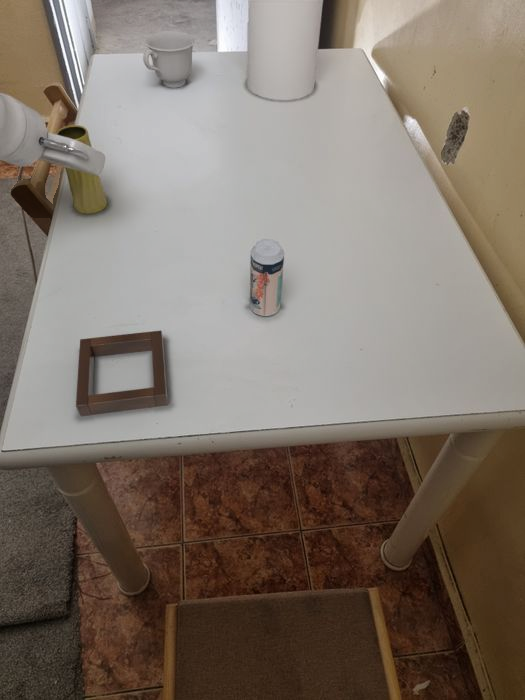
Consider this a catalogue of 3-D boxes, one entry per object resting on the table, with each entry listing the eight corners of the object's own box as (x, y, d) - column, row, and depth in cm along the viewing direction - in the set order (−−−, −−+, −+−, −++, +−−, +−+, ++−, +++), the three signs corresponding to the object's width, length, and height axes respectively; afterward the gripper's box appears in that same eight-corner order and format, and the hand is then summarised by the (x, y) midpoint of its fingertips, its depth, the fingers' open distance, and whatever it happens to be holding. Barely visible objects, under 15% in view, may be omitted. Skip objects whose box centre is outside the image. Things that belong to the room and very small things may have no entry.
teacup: (132, 87, 130) (125, 44, 122) (173, 68, 137) (169, 26, 130) (167, 102, 125) (162, 58, 117) (207, 81, 133) (205, 39, 125)
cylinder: (322, 97, 129) (338, -39, 108) (255, 102, 126) (257, -36, 105) (303, 68, 140) (314, -61, 118) (241, 72, 137) (240, -59, 115)
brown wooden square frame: (80, 416, 68) (75, 406, 66) (84, 350, 75) (79, 339, 74) (168, 405, 70) (165, 394, 68) (163, 341, 77) (161, 330, 75)
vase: (67, 208, 97) (45, 135, 86) (88, 192, 101) (69, 120, 90) (93, 218, 95) (73, 145, 84) (114, 201, 99) (97, 129, 88)
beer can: (246, 299, 83) (246, 240, 74) (274, 294, 84) (278, 234, 75) (255, 321, 80) (256, 261, 71) (284, 314, 81) (289, 255, 72)
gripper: (79, 127, 74) (127, 157, 87) (-35, 98, 78) (27, 130, 92) (69, 171, 75) (118, 193, 88) (-44, 139, 79) (19, 166, 92)
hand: (71, 161), depth 90 cm, fingers open, 8 cm apart
